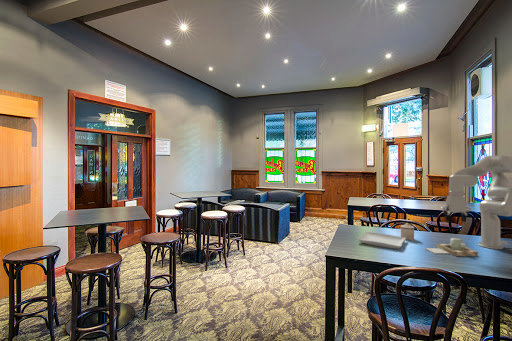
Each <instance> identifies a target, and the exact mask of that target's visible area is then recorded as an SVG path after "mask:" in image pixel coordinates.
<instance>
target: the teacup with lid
mask: <svg viewBox="0 0 512 341" xmlns="http://www.w3.org/2000/svg"><path fill="white" fill-rule="evenodd" d="M400 237H405V238H406V239H405V241H414V240H415V227H414V226H413V225H411V224H410V223H408V222H406V223H405V224H402V225H400Z"/></svg>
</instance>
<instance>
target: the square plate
mask: <svg viewBox="0 0 512 341" xmlns="http://www.w3.org/2000/svg"><path fill="white" fill-rule="evenodd" d="M405 239H406V238H405V237H401V236H398V235H393V234H386V233H379V232H373V231H372V232H371V231H367V232H366V231H365V233H364V234H362V235H361V236H359V237H358V238H357V240H358V241H359V243H362V244H366V245H370V246H376V247H381V248H388V249H400V248H401V247H402V245H403V244H404V242H405V241H406V240H405Z"/></svg>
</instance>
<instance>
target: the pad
mask: <svg viewBox="0 0 512 341" xmlns="http://www.w3.org/2000/svg"><path fill="white" fill-rule="evenodd" d="M425 250H426V251H428V252H430V253H432V254H434V255H450V254H449V253H448V252H446V251H444V250H442V249H440V248H435V247H434V248H433V247H431V248H430V247H428V248H426V247H425Z"/></svg>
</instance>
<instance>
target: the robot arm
mask: <svg viewBox="0 0 512 341" xmlns="http://www.w3.org/2000/svg"><path fill="white" fill-rule="evenodd" d="M489 172H490V176H491V183H490V185H489V187H488V190H487V197H488V198H489V199H484V200H482V201H480V203H479V212H480V217H481V219H480V220H481V221H480V223H481V224H480V225H481V226H480V229H481V230H480V231H481V232H480V242H478V243H477V244H478V246H480V247H482V248H487V249H492V250H503V249H504V246H503V245H508V244H509V243H508V242H507V241H505V240H504V241H503V240H501V219H500V218H499V216H500V217H512V186H509V184H510V180H509V177H507V175H506V173H507V174H510V173H511V174H512V157H510V156H509V155H504V154H503V155H501V154H499V155H486V156H484V157H482V158H481V159H480V160H478V161H477V162H476V163H474V164H473V165H471V166H467V167H464V168H461V169H459V170H456V171H455V172H454V173H452V175H449V179H448V180H449V181H448V195H447V197H446V199H445V205H444V206H442V207H441V208H440V209H441V211H442V213H444V215H445V216H444V217H445V221H446V222H451V215H450V214H451V213H461V215H460V218H461V219H460V221H461V222H464V223H466V221H467V216H468V214H470V211H471V210H472V209H471V208H470V207H468V206H467V204H466V203H467V202H466V197H465V195H466V193H465V192H464V191H465V188H471V187H475V186H476V185H477V184H478V179H477V178H480V177H483V176H485V175H486V174H488V173H489Z"/></svg>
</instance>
